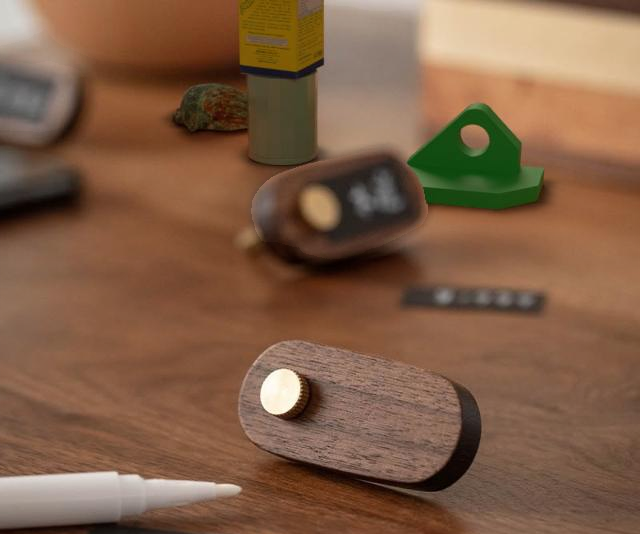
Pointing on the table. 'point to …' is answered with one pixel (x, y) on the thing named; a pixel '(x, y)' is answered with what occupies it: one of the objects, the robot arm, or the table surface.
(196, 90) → the seashell
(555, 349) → the table surface
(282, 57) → the supplement box
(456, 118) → the bracket
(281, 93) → the cup
